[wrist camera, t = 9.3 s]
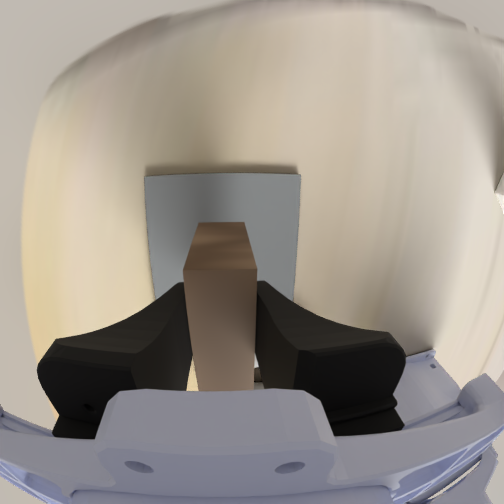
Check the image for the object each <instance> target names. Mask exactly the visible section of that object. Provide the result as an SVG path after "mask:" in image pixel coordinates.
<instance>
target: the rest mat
mask: <svg viewBox="0 0 504 504" xmlns="http://www.w3.org/2000/svg"><path fill="white" fill-rule="evenodd" d="M144 181H145V203H146V218H147V231H148V242H149V252H150V261H151V269H152V277H153V284H154V291H155V298H156V300H157V299H158V298H159V297H160V296H162V295H163V294H164V293H165V292H167V291H168V290H169V289H170V288H172V287H173V286H174V285H175V284H177V283H178V282H184V279H183V268H184V265H185V261H186V258H187V255H188V252H189V249H190V246H191V243H192V240H193V237H194V235H195V232H196V229H197V226H198V223H203V222H244V223H245V226H246V230H247V233H248V237H249V241H250V244H251V248H252V251H253V255H254V258H255V262H256V266H257V281H264V280H265V281H266V282H267V283H269V284H270V285H271V286H272V287H274V288H275V289H276V290H277V291H279V292H280V293H281V294H283V295H284V296H285V297H287V298H288V299H289V300H291V301H292V302H293V295H294V283H295V271H296V257H297V243H298V227H299V208H300V186H301V175H300V174H278V173H200V174H175V175H158V176H146V177H144Z"/></svg>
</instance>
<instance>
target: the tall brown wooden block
mask: <svg viewBox="0 0 504 504" xmlns="http://www.w3.org/2000/svg"><path fill="white" fill-rule="evenodd" d="M183 279H184V289H185V299H186V308H187V316H188V324H189V331H190V339H191V346H192V353H193V359H194V366H195V372H196V378H197V383H198V389H199V391H242V390H254V365H255V334H256V302H257V266H256V262H255V258H254V255H253V251H252V248H251V244H250V241H249V237H248V233H247V230H246V226H245V223H244V222H203V223H198V226H197V229H196V232H195V235H194V237H193V240H192V243H191V246H190V249H189V252H188V255H187V258H186V261H185V265H184V268H183Z"/></svg>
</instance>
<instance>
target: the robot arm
mask: <svg viewBox="0 0 504 504" xmlns="http://www.w3.org/2000/svg"><path fill="white" fill-rule="evenodd" d="M435 353H436V351H435V350H434V349H432V350H429V351H426V352H422V353H419V354H415V355H412V356H408V357H406V355H405V352H404V350H403V349H402V347H401V346H400V345H399V344H398V343H397V341H396V340H395V339H394V338H393V337H392V336H391V334H390V333H389V332H381V331H373V330H365V329H360V328H355V327H351V326H347V325H343V324H340V323H336V322H334V321H331V320H328V319H325V318H323V317H320V316H318V315H316V314H314V313H312V312H310V311H307V310H306V309H304V308H302V307H300V306H299V305H297V304H296V303H294V302H292V301H291V300H289V299H288V298H287V297H285V296H284V295H283V294H281V293H280V292H279V291H277V290H276V289H275V288H274V287H272V286H271V285H270V284H269V283H267V282H266V281H265V280H264V281H257V302H256V334H255V355H256V359H257V362H258V366H259V370H260V373H261V377H262V381H263V386H264V389H260V390H242V391H186V389H187V382H188V376H189V371H190V366H191V361H192V356H193V353H192V346H191V339H190V331H189V324H188V316H187V308H186V299H185V289H184V282H178V283H177V284H175V285H174V286H173V287H172V288H170V289H169V290H168V291H167V292H165V293H164V294H163V295H162V296H160V297H159V298H158V299H157V300H155V301H154V302H152V303H151V304H150V305H148V306H147V307H145V308H144V309H142V310H141V311H139V312H138V313H136V314H134V315H132V316H130V317H128V318H127V319H125V320H122V321H120V322H118V323H115V324H113V325H110V326H108V327H106V328H103V329H100V330H96V331H93V332H89V333H86V334H82V335H77V336H71V337H65V338H59V339H56V340H55V341H54V342H53V344H52V345H51V346H50V348H49V349H48V351H47V352H46V353H45V355H44V356H43V358H42V359H41V360H40V362H39V363H38V367H37V374H38V379H39V381H40V384H41V386H42V388H43V390H44V391H45V393H46V395H47V396H48V398H49V400H50V401H51V403H52V404H53V406H54V408H55V409H56V411H57V412H58V414H59V417H58V419H57V422H56V424H55V426H54V429H53V431H52V430H49V429H47V428H44V427H41V426H38V425H36V424H33V423H30V422H28V421H26V420H23V419H21V418H19V417H16V416H14V415H12V414H10V413H8V412H6V411H4V410H3V408H2V406H1V405H0V476H1V477H3V478H4V479H6V480H7V481H9V482H10V483H12V484H13V485H15V486H17V487H19V488H20V489H22V490H23V491H25V492H27V493H28V494H30V495H32V496H34V497H35V498H37V499H39V500H41V501H43V502H45V503H47V504H492V503H491V501H490V499H489V497H488V496H487V494H486V492H485V490H486V488H487V486H488V484H489V482H490V480H491V477H492V475H493V473H494V471H495V469H496V466H497V464H498V460H497V459H496V458H497V457H498V454H497V453H496V451H495V450H494V448H493V447H492V443H493V441H494V440H495V439H496V438H497V437H498V436H499V435H500V434H501V432H502V431H503V430H504V392H503V391H502V390H501V389H500V388H499V387H498V386H497V385H496V383H495V382H494V381H493V380H492V379H491V378H490V377H489V376H488V375H487V374H486V373H484V374H482V375H480V376H478V377H477V378H475V379H473V380H471V381H469V382H468V383H467V384H466V385H465V386H464V387H463V389H462V390H461V389H460V387H459V386H458V385H457V383H456V382H455V381H454V380H453V379H452V377H451V376H450V375H449V374H448V373H447V372H446V371H445V369H444V368H443V367H442V366H441V365H440V364H439V363H438V362H437V360H436V359H435V358H434V356H435ZM480 460H481V461H480ZM478 461H480V463H479V465H478V466H477V467H476V468H475V469H474V470H473V471H472V472H470V473H469V474H468V475H467V476H465V477H464V478H463V479H461V480H460V481H458V482H457V483H456V484H454V485H453V486H452V487H450V488H449V489H447V490H446V491H444V492H443V493H442V494H440V495H439V496H437V497H435V498H432V499H428V498H429V497H431V496H433V495H434V494H436V493H437V492H438V491H440V490H442V489H443V488H445V487H446V486H447V485H449V484H450V483H452V482H453V481H454V480H456V479H457V478H458V477H460V476H461V475H462V474H464V473H465V472H466V471H467V470H469V469H470V468H471V467H472V466H474V465H475V464H476V463H477V462H478Z"/></svg>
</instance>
